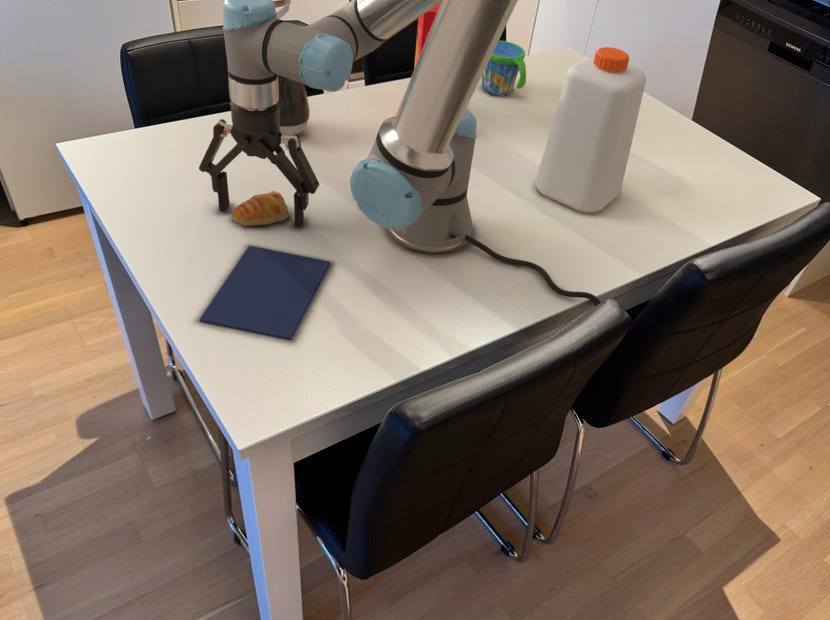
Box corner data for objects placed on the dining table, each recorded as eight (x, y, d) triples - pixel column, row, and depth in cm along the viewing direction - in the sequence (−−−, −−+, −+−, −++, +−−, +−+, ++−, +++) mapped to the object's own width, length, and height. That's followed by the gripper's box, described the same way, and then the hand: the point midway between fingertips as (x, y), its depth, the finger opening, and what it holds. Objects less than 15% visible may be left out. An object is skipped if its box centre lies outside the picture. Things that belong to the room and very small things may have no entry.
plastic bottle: (562, 164, 158) (595, 30, 139) (625, 191, 152) (668, 55, 133) (526, 190, 148) (555, 50, 129) (592, 220, 143) (633, 78, 124)
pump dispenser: (320, 131, 157) (320, 59, 146) (287, 148, 150) (284, 74, 139) (283, 115, 160) (280, 43, 150) (249, 131, 153) (244, 57, 143)
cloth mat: (329, 263, 124) (329, 261, 123) (290, 340, 109) (290, 338, 109) (249, 247, 124) (249, 245, 124) (199, 321, 110) (199, 319, 109)
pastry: (244, 234, 127) (242, 214, 124) (225, 215, 130) (223, 196, 128) (292, 219, 132) (291, 200, 129) (273, 201, 135) (272, 183, 133)
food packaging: (411, 100, 172) (421, -14, 155) (434, 102, 173) (445, -12, 156) (413, 129, 162) (424, 10, 145) (437, 131, 162) (450, 13, 145)
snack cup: (533, 99, 180) (541, 58, 173) (499, 107, 175) (506, 64, 168) (494, 74, 189) (500, 33, 182) (461, 80, 184) (466, 39, 177)
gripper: (338, 106, 119) (336, 218, 133) (188, 77, 120) (202, 191, 135) (324, 126, 113) (323, 241, 128) (168, 95, 115) (185, 212, 129)
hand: (261, 216), depth 131 cm, fingers open, 13 cm apart
